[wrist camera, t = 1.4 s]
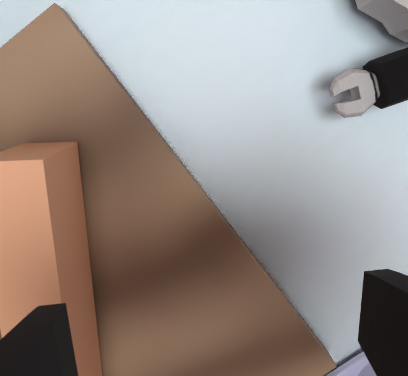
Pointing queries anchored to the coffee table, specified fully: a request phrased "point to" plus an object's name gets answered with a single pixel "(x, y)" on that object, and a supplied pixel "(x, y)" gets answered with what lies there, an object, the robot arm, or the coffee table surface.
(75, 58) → the tong board
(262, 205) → the coffee table surface
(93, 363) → the tong arm
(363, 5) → the robot toy
